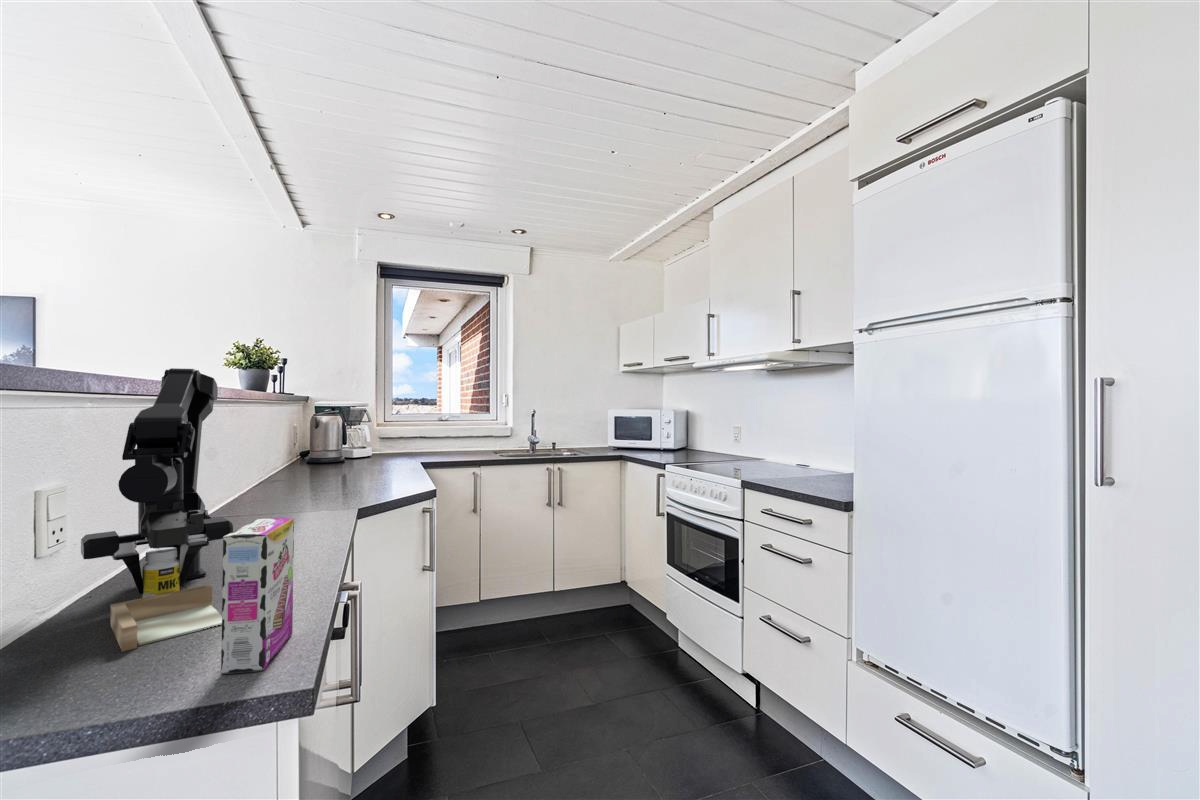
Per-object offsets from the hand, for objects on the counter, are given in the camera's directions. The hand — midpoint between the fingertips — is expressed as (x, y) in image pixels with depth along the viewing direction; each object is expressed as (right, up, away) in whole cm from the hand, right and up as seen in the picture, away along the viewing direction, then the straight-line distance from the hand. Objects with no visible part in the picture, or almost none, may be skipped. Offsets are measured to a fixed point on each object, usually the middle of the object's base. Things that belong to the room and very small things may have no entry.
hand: (161, 589), depth 90 cm
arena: (+9, -2, -9) cm, 13 cm away
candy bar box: (+27, -2, -18) cm, 33 cm away
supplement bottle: (0, -2, 0) cm, 2 cm away
